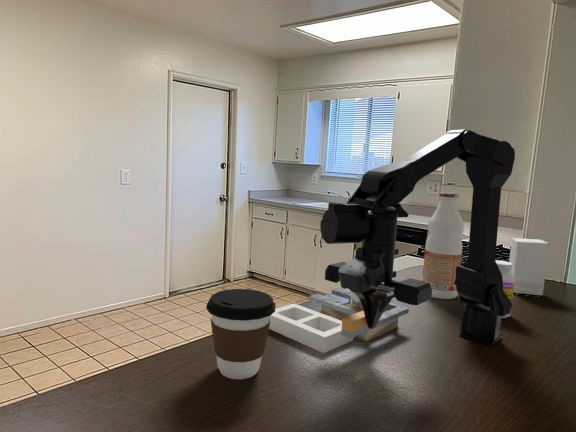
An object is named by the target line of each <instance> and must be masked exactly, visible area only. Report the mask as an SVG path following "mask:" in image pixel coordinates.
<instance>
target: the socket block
mask: <svg viewBox="0 0 576 432" xmlns="http://www.w3.org/2000/svg"><path fill="white" fill-rule="evenodd" d="M350 303H351V300H349V299H348V302H345V303H343V304H341V305H346V304H350ZM388 310H391V309H387V308H386V309H385V310H384V312H386V311H388ZM319 313H322V314H324V315H327V316H330V317H333V318H335V319H338V320H341V321H342V318H345V317H348V316H350V315H349V314H346V313H343V312H340V311H337V310H334V309H331V308H329V307H326V306H323V305H321V307H320V311H319ZM399 318H400V317H398V318H396V319H393V320H391V321H389V322H387V323H384V324H382V325H380V326H378V327H375V328H373V329H371V330H368V331H366V332H364V333H362V334H359V335H357V336H355V337H354V338H356V339H359V340H361V341H364V342H368V341H370V340H372V339H375V338H377V337H379V336H382V335H383V334H386V333H387V332H389V331H392V330H394V329H396V328H398V327H399Z"/></svg>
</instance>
